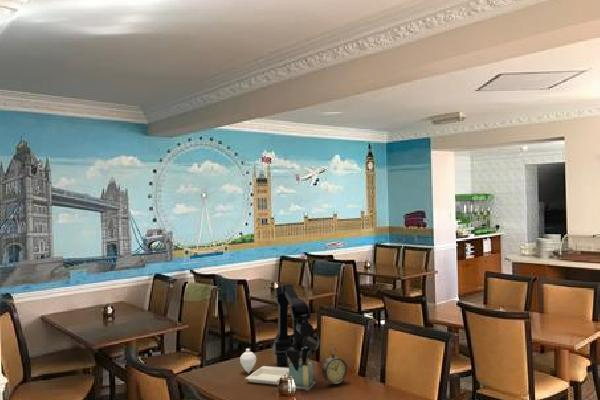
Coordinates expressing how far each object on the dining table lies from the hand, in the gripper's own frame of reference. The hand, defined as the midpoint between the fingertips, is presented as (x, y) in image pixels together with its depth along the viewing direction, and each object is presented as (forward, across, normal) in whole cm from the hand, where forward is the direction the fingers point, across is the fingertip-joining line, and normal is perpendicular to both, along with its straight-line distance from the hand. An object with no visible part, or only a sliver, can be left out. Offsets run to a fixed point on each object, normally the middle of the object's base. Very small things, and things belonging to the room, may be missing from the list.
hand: (301, 367), depth 216 cm
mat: (+8, 0, 0) cm, 8 cm away
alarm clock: (+8, +5, -13) cm, 17 cm away
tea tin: (+7, 0, 0) cm, 7 cm away
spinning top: (+8, +7, +30) cm, 32 cm away
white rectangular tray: (+8, +3, +17) cm, 19 cm away
